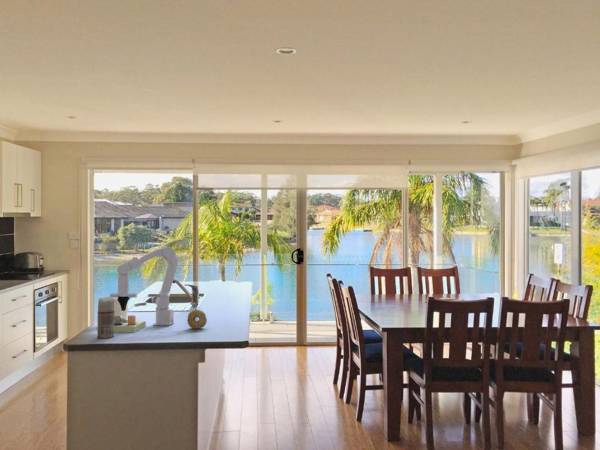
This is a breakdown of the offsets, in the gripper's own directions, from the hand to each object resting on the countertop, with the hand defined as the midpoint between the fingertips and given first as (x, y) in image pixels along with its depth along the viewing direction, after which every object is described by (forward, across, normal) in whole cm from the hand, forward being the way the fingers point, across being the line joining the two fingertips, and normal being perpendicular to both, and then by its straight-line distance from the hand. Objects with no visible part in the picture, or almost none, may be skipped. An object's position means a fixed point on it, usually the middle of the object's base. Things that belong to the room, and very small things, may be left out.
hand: (123, 310), depth 298 cm
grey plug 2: (+9, 0, 0) cm, 9 cm away
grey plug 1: (+6, 0, -7) cm, 10 cm away
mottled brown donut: (+10, +41, -1) cm, 42 cm away
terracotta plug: (+6, +7, -6) cm, 11 cm away
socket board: (+9, +3, -4) cm, 11 cm away
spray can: (+10, 0, -23) cm, 25 cm away
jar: (+10, -8, +11) cm, 16 cm away
